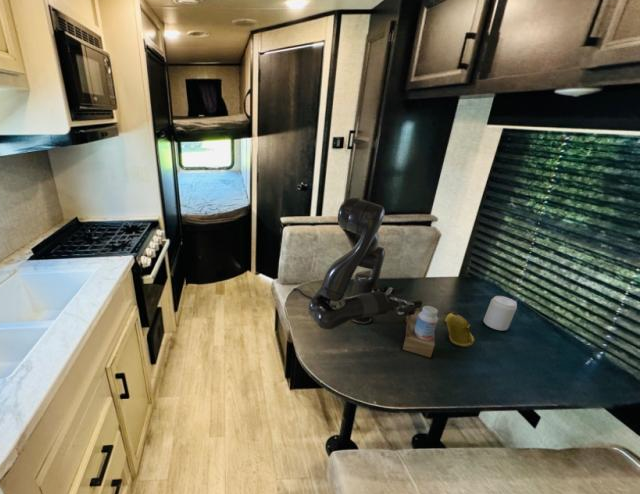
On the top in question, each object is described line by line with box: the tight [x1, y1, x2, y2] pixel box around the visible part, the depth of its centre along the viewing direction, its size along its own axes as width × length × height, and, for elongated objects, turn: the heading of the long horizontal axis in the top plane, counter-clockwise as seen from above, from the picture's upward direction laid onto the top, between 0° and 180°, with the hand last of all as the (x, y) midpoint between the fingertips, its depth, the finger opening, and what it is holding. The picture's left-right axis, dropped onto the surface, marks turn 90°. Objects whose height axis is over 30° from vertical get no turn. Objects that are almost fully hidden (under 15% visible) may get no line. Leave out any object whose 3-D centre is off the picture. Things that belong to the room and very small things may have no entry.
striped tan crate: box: [402, 309, 436, 358], centre depth 120 cm, size 20×9×8 cm, turn 152°
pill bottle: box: [414, 305, 439, 340], centre depth 112 cm, size 6×6×11 cm
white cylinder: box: [483, 295, 518, 332], centre depth 125 cm, size 8×8×12 cm
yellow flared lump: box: [444, 311, 476, 348], centre depth 115 cm, size 12×8×15 cm
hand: (411, 296), depth 104 cm, fingers open, 8 cm apart
